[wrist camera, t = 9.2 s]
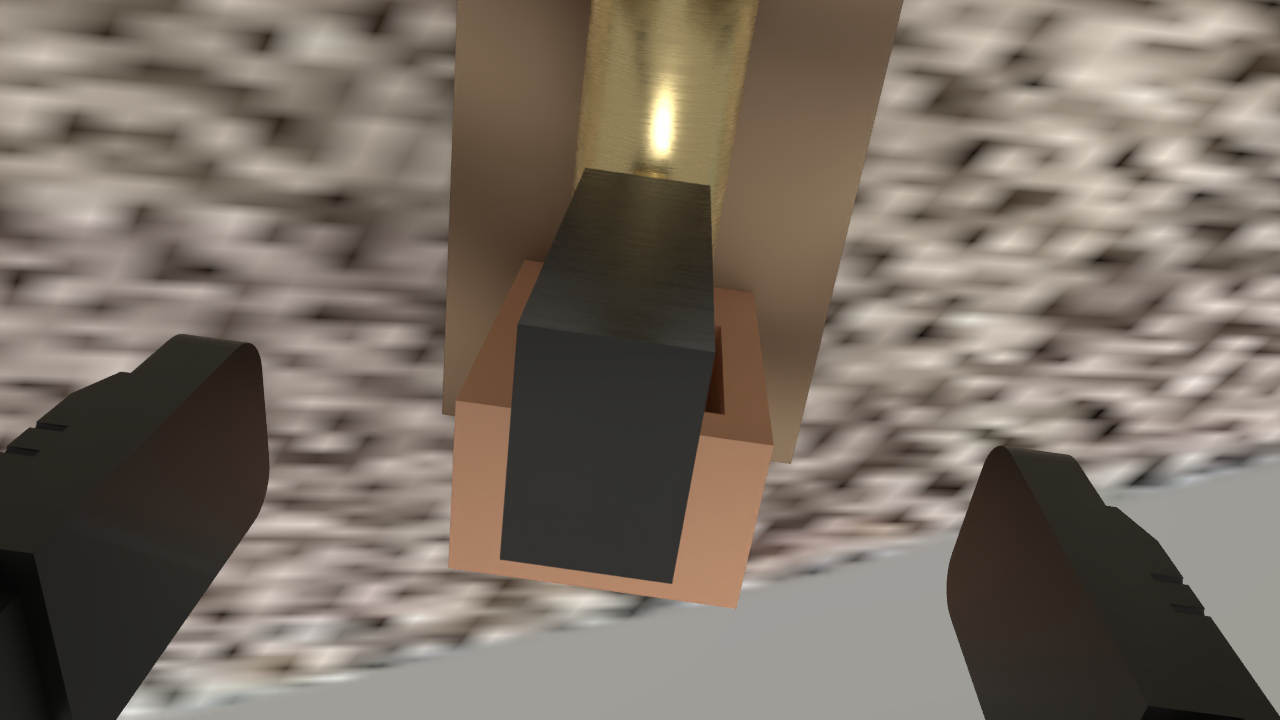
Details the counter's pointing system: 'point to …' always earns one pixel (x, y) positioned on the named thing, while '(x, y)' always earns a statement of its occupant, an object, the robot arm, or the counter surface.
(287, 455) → the counter surface
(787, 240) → the sleeve stand
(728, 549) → the socket block
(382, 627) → the counter surface
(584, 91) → the gold and grey t-piece
